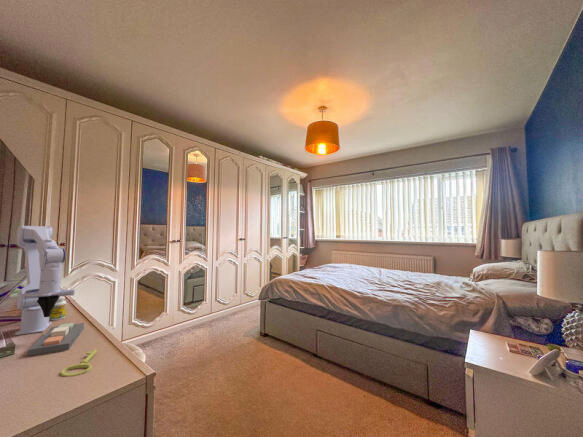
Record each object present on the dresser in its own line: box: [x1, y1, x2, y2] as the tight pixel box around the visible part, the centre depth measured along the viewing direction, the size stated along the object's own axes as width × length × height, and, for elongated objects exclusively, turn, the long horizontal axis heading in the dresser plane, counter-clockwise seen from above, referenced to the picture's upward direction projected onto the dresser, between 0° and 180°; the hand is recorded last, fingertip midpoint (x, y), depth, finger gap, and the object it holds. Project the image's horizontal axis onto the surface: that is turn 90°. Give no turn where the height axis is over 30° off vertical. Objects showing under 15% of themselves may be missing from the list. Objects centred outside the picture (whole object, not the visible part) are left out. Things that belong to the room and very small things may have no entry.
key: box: [60, 349, 98, 377], centre depth 73 cm, size 7×12×2 cm, turn 32°
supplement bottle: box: [49, 296, 67, 321], centre depth 108 cm, size 5×5×10 cm
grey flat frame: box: [27, 322, 85, 357], centre depth 88 cm, size 20×10×2 cm, turn 30°
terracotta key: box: [43, 336, 63, 346], centre depth 83 cm, size 4×4×2 cm
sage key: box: [58, 322, 75, 330], centre depth 94 cm, size 4×4×2 cm
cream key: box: [51, 326, 69, 337], centre depth 88 cm, size 4×4×2 cm
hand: (47, 316), depth 89 cm, fingers closed
